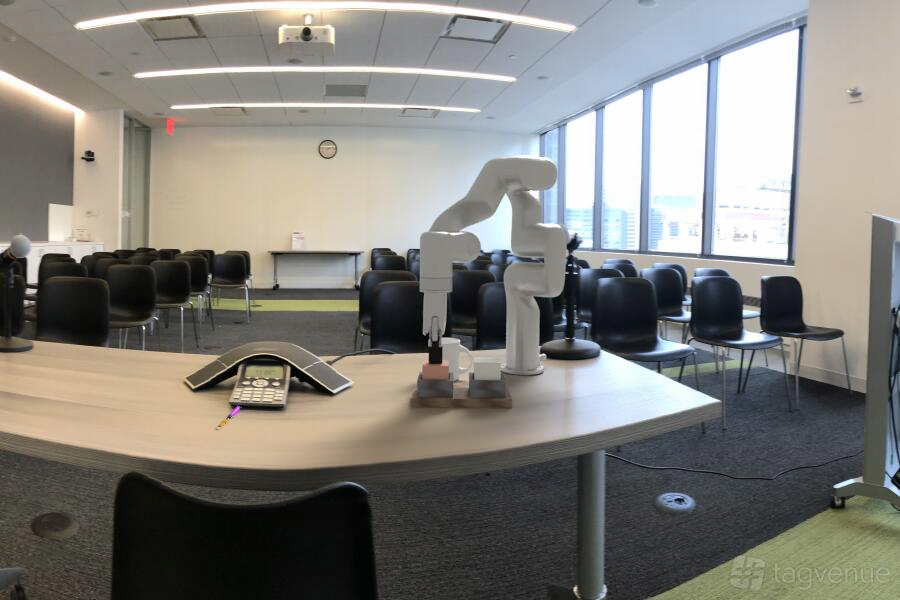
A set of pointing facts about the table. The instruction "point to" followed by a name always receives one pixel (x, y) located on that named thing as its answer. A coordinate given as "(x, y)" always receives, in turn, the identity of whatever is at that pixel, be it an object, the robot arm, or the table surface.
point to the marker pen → (230, 416)
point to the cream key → (487, 368)
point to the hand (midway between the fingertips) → (435, 363)
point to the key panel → (461, 393)
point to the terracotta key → (435, 370)
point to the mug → (454, 356)
